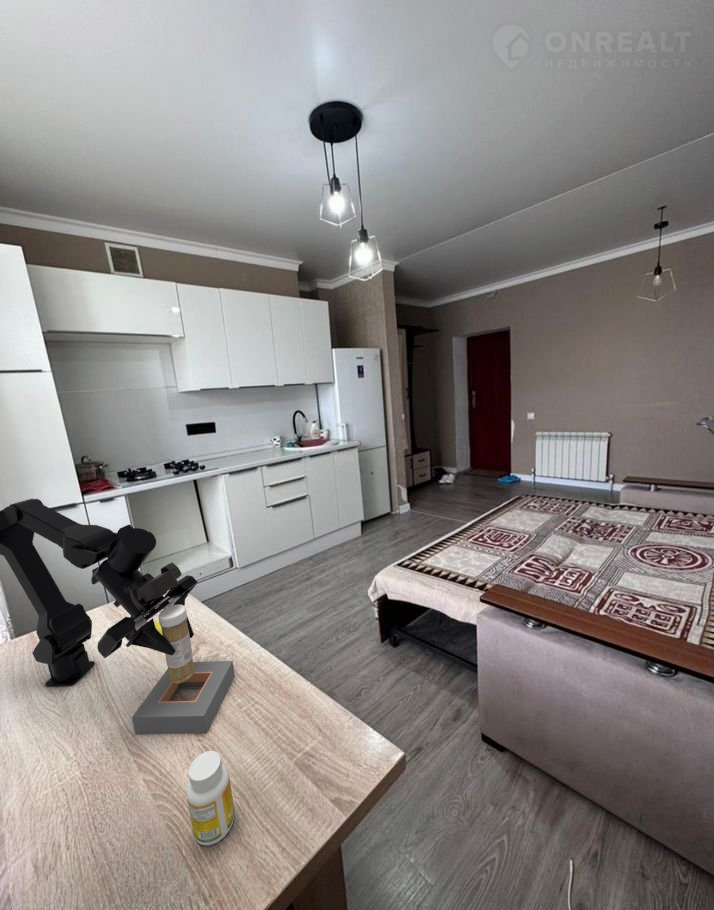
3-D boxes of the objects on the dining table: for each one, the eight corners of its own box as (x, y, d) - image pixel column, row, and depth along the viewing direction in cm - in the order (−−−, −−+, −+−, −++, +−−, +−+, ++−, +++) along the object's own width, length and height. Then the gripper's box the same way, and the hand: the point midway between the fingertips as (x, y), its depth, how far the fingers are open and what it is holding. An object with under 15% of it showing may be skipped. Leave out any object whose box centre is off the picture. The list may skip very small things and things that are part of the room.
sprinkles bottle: (183, 664, 73) (174, 601, 71) (200, 670, 71) (191, 605, 69) (163, 681, 69) (152, 615, 67) (180, 688, 67) (170, 619, 65)
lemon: (162, 647, 88) (159, 632, 87) (147, 636, 93) (144, 622, 92) (179, 637, 91) (177, 623, 90) (164, 626, 96) (161, 613, 95)
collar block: (135, 734, 65) (131, 717, 65) (174, 677, 78) (172, 662, 77) (206, 733, 64) (203, 715, 64) (234, 675, 77) (232, 660, 77)
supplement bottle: (206, 857, 47) (194, 796, 45) (186, 827, 50) (174, 769, 49) (243, 818, 51) (233, 760, 49) (222, 793, 54) (213, 738, 53)
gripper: (95, 585, 58) (162, 658, 57) (183, 537, 76) (236, 592, 74) (70, 623, 62) (132, 693, 61) (159, 569, 80) (209, 622, 78)
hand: (183, 644), depth 68 cm, fingers closed on sprinkles bottle, 4 cm apart
